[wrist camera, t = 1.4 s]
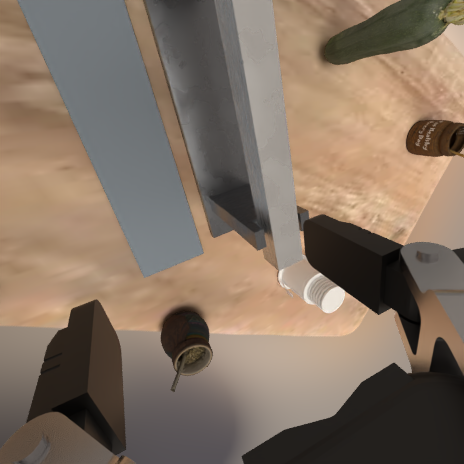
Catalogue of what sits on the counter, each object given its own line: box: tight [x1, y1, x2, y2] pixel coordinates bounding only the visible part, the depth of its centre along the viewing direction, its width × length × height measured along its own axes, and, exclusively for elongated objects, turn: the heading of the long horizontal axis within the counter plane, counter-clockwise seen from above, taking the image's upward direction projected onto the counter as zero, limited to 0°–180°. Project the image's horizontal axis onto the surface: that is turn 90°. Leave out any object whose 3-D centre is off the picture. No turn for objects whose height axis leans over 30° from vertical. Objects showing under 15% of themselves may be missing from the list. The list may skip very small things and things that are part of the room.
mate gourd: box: [161, 311, 213, 392], centre depth 40 cm, size 7×8×10 cm
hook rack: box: [143, 0, 309, 250], centre depth 28 cm, size 34×8×14 cm, turn 13°
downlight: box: [278, 254, 345, 313], centre depth 46 cm, size 8×7×10 cm
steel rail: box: [214, 0, 303, 271], centre depth 23 cm, size 32×3×3 cm, turn 13°
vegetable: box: [324, 0, 464, 65], centre depth 29 cm, size 4×4×20 cm
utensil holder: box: [407, 120, 464, 157], centre depth 45 cm, size 6×6×12 cm
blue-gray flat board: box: [18, 0, 203, 278], centre depth 31 cm, size 38×9×1 cm, turn 13°
